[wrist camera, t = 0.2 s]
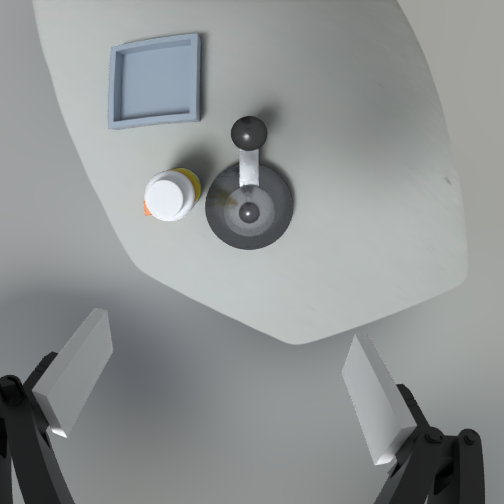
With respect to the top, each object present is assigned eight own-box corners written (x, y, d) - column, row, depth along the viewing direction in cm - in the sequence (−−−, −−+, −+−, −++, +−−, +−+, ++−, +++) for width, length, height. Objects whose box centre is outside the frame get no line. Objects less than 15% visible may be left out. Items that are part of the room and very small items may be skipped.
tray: (119, 52, 31) (111, 47, 29) (201, 40, 32) (197, 33, 29) (117, 129, 35) (108, 128, 33) (200, 121, 36) (196, 119, 33)
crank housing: (206, 164, 37) (203, 165, 36) (291, 163, 38) (293, 164, 36) (209, 245, 41) (207, 250, 39) (289, 244, 41) (291, 249, 39)
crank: (273, 231, 38) (277, 247, 32) (225, 232, 38) (221, 248, 32) (273, 121, 34) (279, 116, 28) (223, 121, 34) (218, 116, 28)
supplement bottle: (174, 159, 37) (155, 160, 27) (210, 182, 38) (202, 190, 29) (153, 195, 38) (128, 208, 29) (187, 217, 40) (173, 237, 30)
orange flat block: (144, 200, 39) (143, 201, 39) (168, 199, 39) (167, 199, 39) (145, 214, 40) (144, 215, 39) (169, 214, 40) (168, 214, 39)
